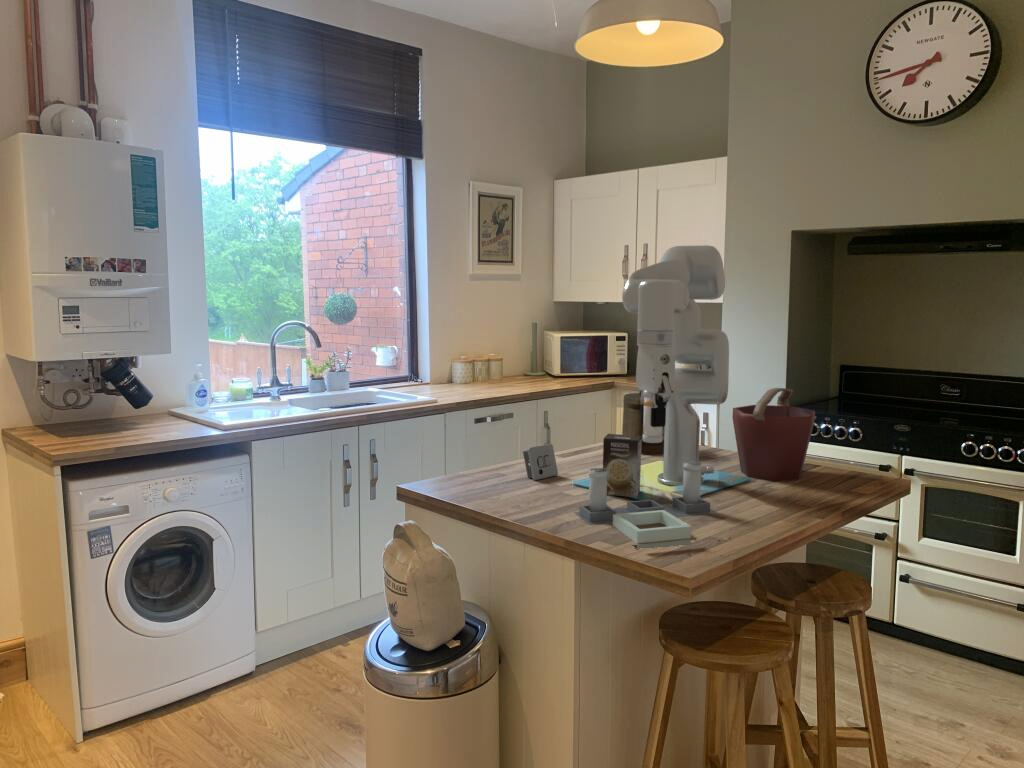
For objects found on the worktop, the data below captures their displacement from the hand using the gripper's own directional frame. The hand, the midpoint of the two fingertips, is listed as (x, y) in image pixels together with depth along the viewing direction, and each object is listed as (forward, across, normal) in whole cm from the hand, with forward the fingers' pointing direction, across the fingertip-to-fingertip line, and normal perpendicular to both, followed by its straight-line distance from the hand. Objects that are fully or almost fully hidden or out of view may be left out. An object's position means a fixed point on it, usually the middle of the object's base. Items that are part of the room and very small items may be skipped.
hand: (652, 423), depth 166 cm
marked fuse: (+4, 0, 0) cm, 4 cm away
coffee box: (+25, +30, -7) cm, 40 cm away
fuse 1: (+23, +12, +7) cm, 27 cm away
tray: (+25, -1, 0) cm, 25 cm away
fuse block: (+25, +12, -5) cm, 28 cm away
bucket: (+25, +41, -60) cm, 77 cm away
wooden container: (+24, +82, -38) cm, 94 cm away
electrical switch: (+25, +57, +6) cm, 63 cm away
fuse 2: (+23, +12, -17) cm, 31 cm away
